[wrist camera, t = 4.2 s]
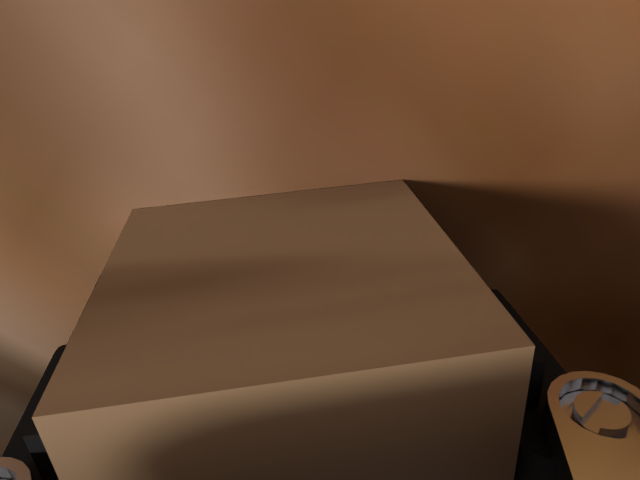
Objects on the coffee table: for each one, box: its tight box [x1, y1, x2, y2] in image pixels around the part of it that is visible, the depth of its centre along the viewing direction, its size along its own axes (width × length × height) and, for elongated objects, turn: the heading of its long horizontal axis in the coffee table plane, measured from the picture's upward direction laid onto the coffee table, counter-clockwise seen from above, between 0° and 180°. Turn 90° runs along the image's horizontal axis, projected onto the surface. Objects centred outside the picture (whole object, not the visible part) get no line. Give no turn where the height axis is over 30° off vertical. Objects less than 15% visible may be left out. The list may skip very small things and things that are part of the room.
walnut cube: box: [32, 180, 535, 480], centre depth 8 cm, size 5×5×5 cm
